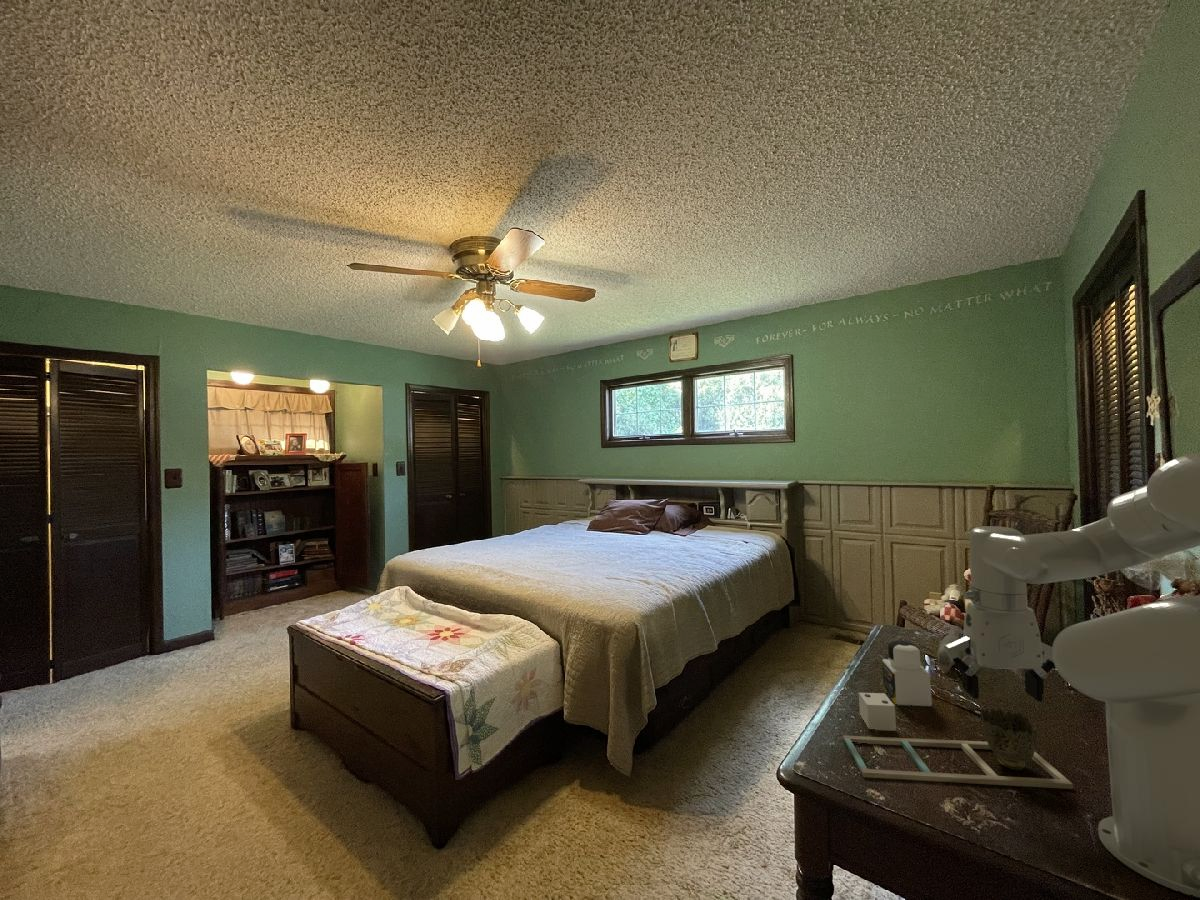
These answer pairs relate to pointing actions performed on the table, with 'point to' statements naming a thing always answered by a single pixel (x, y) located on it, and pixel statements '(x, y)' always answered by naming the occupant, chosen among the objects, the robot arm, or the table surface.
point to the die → (877, 711)
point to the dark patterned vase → (1010, 737)
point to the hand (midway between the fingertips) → (1002, 696)
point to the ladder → (927, 775)
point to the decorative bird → (945, 640)
